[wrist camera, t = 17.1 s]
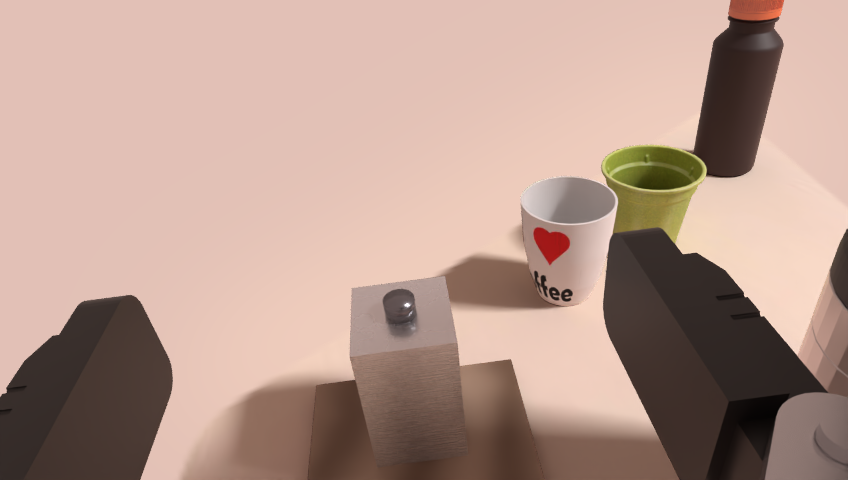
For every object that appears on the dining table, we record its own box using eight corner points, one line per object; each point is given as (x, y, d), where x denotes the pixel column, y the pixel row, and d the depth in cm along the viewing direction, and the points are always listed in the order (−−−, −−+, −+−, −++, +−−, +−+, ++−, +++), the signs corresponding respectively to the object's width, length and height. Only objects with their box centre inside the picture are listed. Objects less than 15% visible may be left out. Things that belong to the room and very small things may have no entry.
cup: (505, 280, 57) (502, 193, 51) (571, 253, 60) (576, 167, 54) (555, 329, 51) (559, 236, 45) (627, 296, 53) (639, 204, 48)
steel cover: (456, 384, 46) (443, 261, 39) (468, 455, 40) (455, 327, 33) (376, 395, 45) (348, 274, 39) (377, 467, 40) (346, 342, 33)
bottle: (681, 156, 74) (709, -10, 62) (733, 148, 74) (770, -19, 63) (708, 181, 68) (745, 4, 57) (764, 173, 68) (811, -5, 57)
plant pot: (639, 279, 55) (650, 201, 50) (577, 232, 62) (581, 161, 58) (712, 247, 58) (730, 171, 53) (645, 206, 65) (655, 136, 60)
